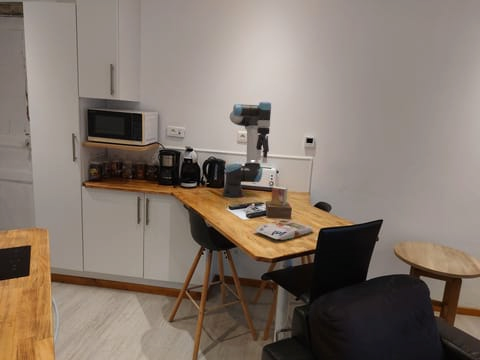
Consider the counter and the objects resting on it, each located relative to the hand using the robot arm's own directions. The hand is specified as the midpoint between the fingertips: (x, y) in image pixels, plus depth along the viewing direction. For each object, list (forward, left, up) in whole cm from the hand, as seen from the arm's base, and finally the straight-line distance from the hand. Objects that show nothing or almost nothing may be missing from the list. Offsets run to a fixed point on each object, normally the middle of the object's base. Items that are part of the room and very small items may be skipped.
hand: (261, 161), depth 228 cm
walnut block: (+16, +8, -31) cm, 36 cm away
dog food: (+49, 0, -31) cm, 58 cm away
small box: (+16, +8, -24) cm, 30 cm away
